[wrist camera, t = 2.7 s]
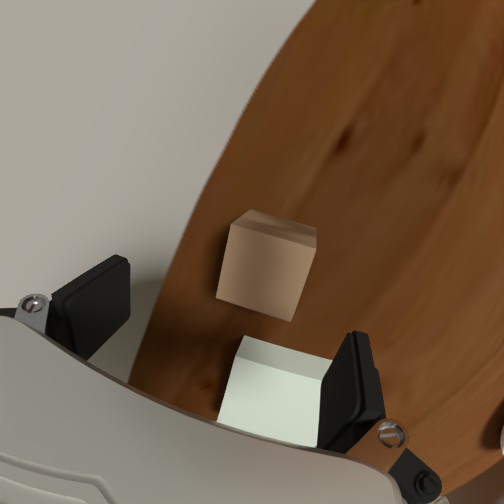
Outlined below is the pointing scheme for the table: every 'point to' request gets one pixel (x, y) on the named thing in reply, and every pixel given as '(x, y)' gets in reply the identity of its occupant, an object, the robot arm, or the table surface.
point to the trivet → (274, 392)
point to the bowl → (502, 440)
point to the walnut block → (266, 263)
